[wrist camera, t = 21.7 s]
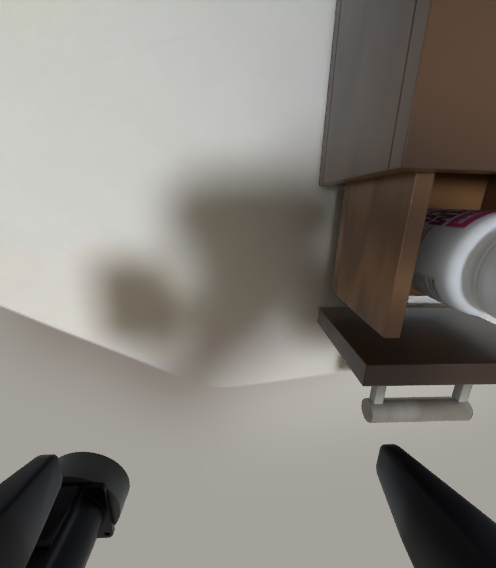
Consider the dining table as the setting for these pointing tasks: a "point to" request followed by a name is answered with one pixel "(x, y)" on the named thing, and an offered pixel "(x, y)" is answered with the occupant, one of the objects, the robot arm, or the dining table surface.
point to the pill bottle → (458, 260)
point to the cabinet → (410, 89)
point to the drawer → (405, 298)
